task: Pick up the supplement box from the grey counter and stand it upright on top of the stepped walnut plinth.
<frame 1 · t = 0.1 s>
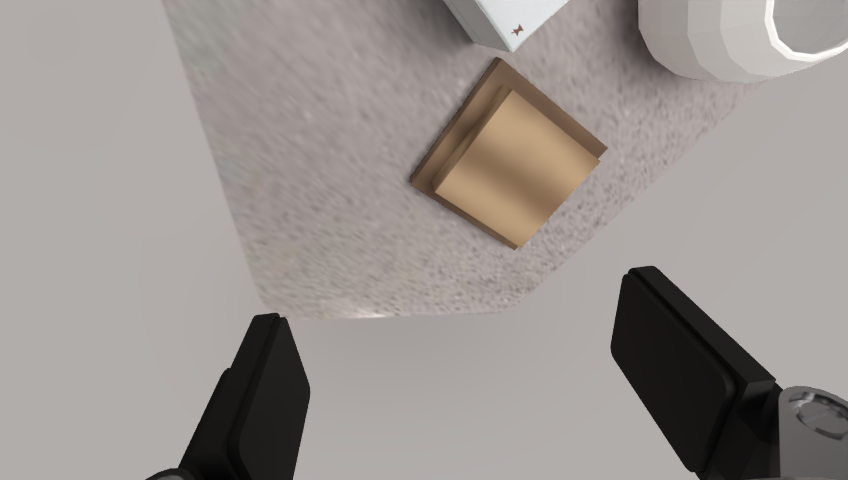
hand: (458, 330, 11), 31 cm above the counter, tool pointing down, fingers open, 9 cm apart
plinth: (504, 160, 42), on the counter
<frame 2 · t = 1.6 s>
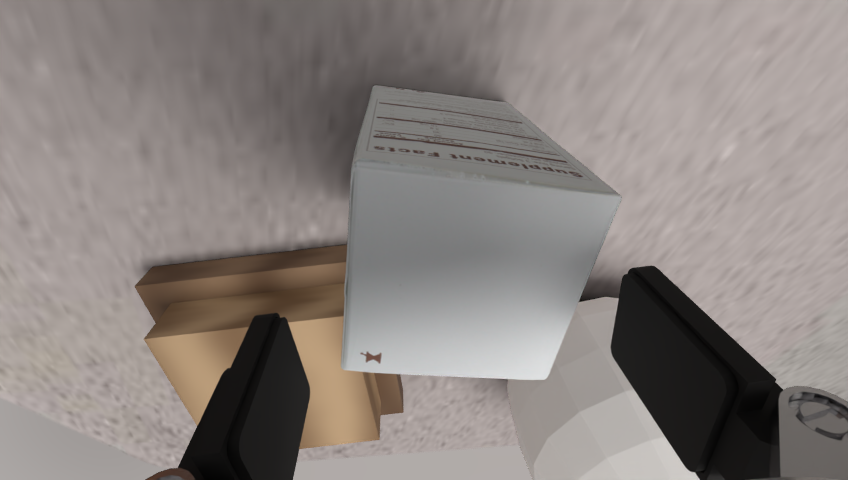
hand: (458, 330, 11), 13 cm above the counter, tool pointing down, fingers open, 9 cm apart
supplement box: (431, 155, 23), on the counter
white vase: (578, 341, 31), on the counter
plinth: (293, 336, 29), on the counter
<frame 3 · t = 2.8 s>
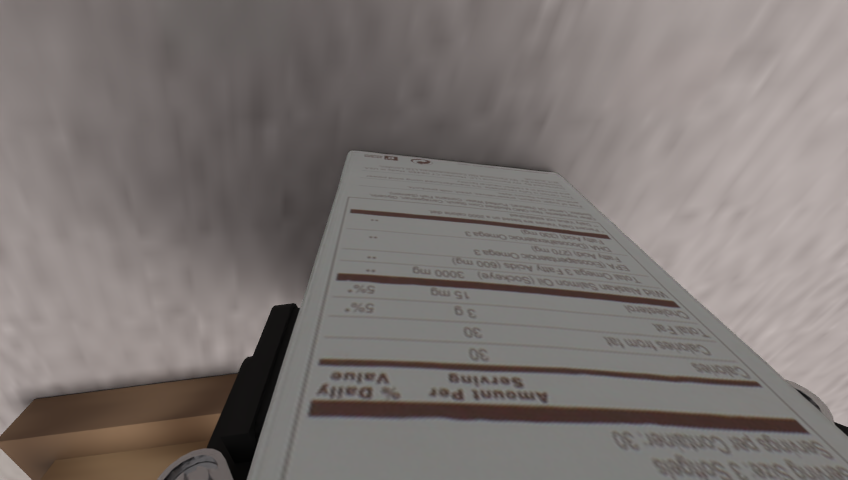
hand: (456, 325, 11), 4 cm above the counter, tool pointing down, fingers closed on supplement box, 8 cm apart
supplement box: (439, 246, 15), on the counter, touching gripper
plinth: (248, 472, 21), on the counter
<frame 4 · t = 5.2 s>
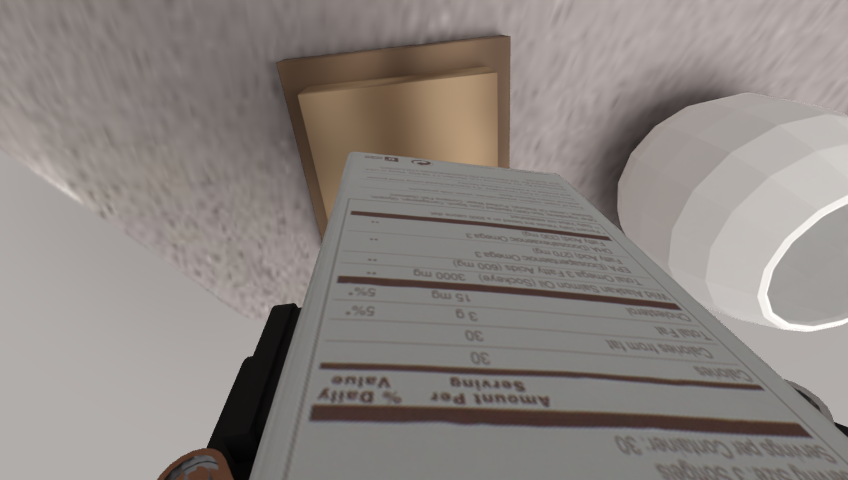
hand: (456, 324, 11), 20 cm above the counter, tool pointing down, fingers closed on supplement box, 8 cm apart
supplement box: (440, 247, 15), point 15 cm above the counter, touching gripper
white vase: (677, 171, 31), on the counter
plinth: (406, 153, 29), on the counter
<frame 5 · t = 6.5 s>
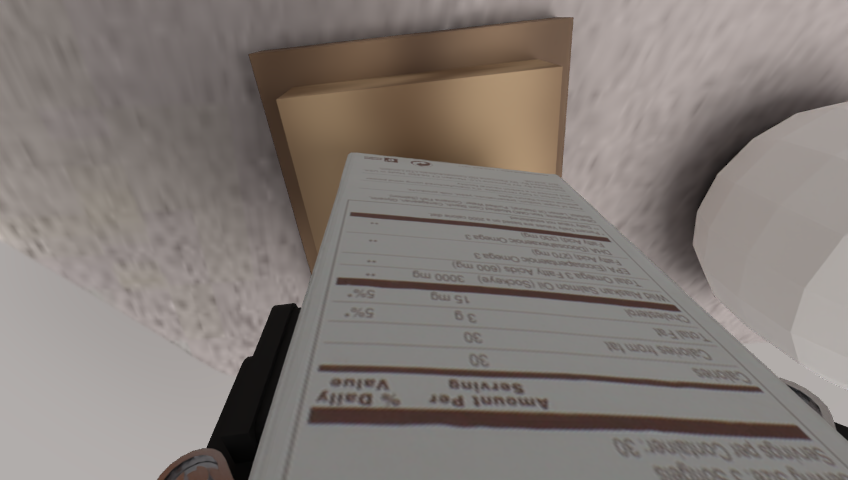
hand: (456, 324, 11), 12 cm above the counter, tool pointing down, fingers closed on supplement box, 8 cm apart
supplement box: (439, 247, 15), point 8 cm above the counter, touching gripper
white vase: (766, 194, 25), on the counter
plinth: (424, 174, 22), on the counter
when the fingers open (10 cm above the counter, at t = 7.6 s): supplement box stays where it is, resting on plinth.
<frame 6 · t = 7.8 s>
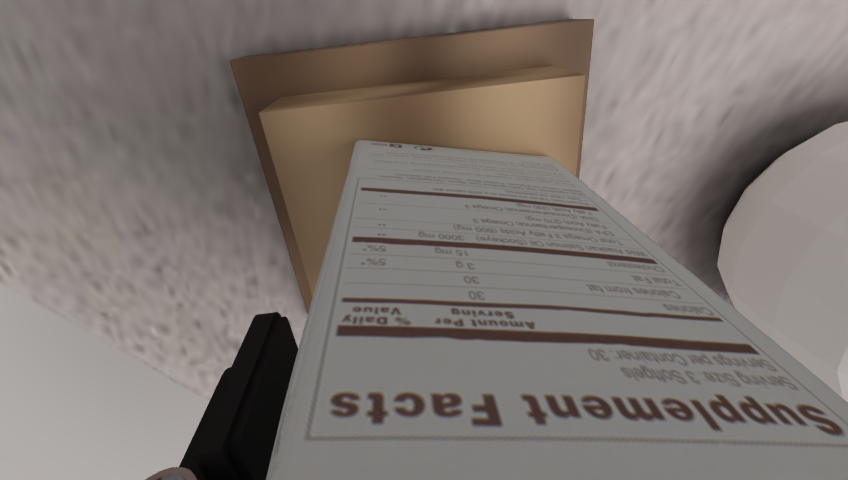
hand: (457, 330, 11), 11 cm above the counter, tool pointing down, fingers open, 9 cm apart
supplement box: (443, 230, 16), point 5 cm above the counter, touching plinth
white vase: (795, 209, 23), on the counter
plinth: (426, 190, 20), on the counter
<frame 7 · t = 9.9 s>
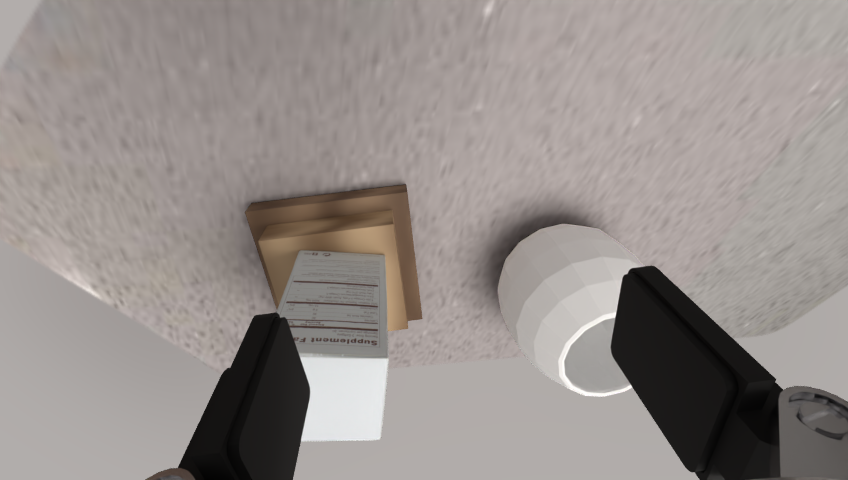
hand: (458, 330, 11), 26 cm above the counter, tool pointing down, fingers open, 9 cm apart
supplement box: (342, 284, 35), point 5 cm above the counter, touching plinth
white vase: (548, 265, 43), on the counter
plinth: (343, 259, 40), on the counter
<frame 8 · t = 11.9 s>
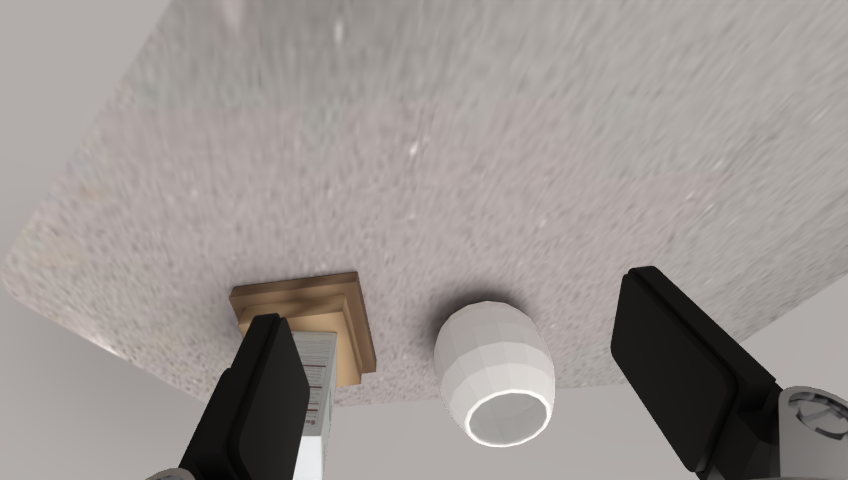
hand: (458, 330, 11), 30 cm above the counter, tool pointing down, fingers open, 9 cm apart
supplement box: (305, 353, 45), point 5 cm above the counter, touching plinth
white vase: (480, 328, 52), on the counter
plinth: (310, 326, 49), on the counter
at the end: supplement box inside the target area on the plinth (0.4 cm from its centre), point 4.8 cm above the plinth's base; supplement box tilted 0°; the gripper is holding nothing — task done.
